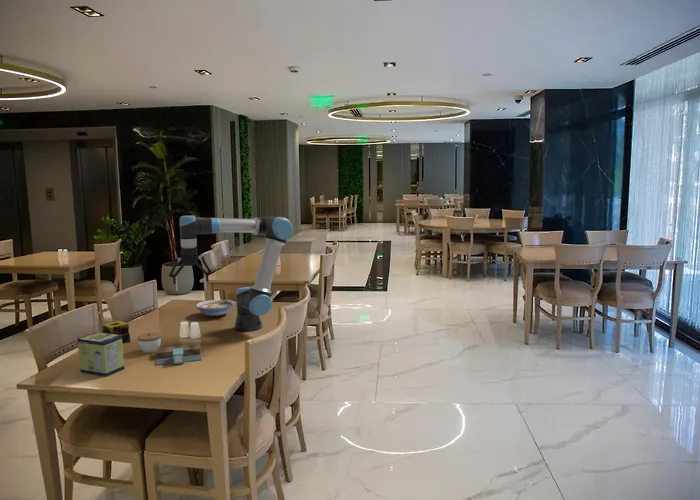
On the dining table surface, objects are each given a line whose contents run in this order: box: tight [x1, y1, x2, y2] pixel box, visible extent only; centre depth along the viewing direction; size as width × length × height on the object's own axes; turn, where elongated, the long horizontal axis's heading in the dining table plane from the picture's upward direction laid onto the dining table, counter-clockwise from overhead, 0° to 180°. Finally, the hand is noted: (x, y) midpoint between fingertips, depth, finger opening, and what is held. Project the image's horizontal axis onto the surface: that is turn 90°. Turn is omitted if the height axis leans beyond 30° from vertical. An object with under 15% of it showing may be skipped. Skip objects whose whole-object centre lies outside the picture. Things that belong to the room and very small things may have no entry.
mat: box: [155, 353, 202, 367], centre depth 244 cm, size 20×8×1 cm, turn 109°
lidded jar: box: [137, 332, 162, 354], centre depth 257 cm, size 11×11×9 cm
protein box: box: [77, 331, 125, 378], centre depth 231 cm, size 10×16×16 cm
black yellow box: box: [101, 320, 131, 345], centre depth 272 cm, size 10×10×10 cm
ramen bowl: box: [196, 297, 235, 317], centre depth 325 cm, size 25×23×8 cm
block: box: [173, 348, 185, 365], centre depth 242 cm, size 4×4×9 cm
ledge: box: [155, 343, 201, 360], centre depth 252 cm, size 20×8×3 cm, turn 109°
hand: (191, 289), depth 262 cm, fingers open, 13 cm apart
